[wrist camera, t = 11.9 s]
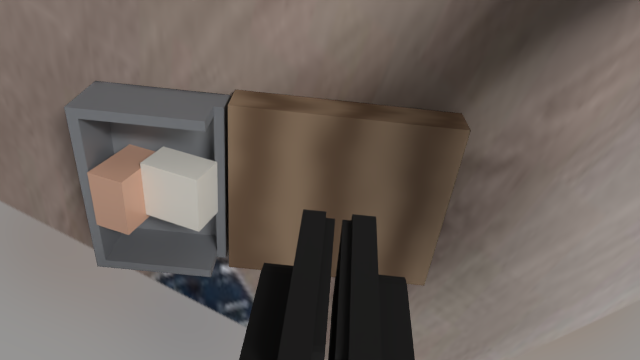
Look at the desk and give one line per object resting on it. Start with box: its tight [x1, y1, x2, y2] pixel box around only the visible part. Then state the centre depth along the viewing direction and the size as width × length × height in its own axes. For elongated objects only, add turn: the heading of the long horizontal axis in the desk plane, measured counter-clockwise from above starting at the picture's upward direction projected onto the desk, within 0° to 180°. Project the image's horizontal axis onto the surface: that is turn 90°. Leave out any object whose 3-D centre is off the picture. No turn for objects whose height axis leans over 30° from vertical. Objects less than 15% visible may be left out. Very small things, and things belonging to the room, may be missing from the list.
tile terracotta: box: [87, 144, 156, 235], centre depth 39 cm, size 5×5×3 cm
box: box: [64, 81, 230, 277], centre depth 39 cm, size 11×15×5 cm
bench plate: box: [228, 90, 471, 285], centre depth 41 cm, size 18×16×3 cm
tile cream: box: [140, 146, 218, 232], centre depth 39 cm, size 5×5×3 cm
